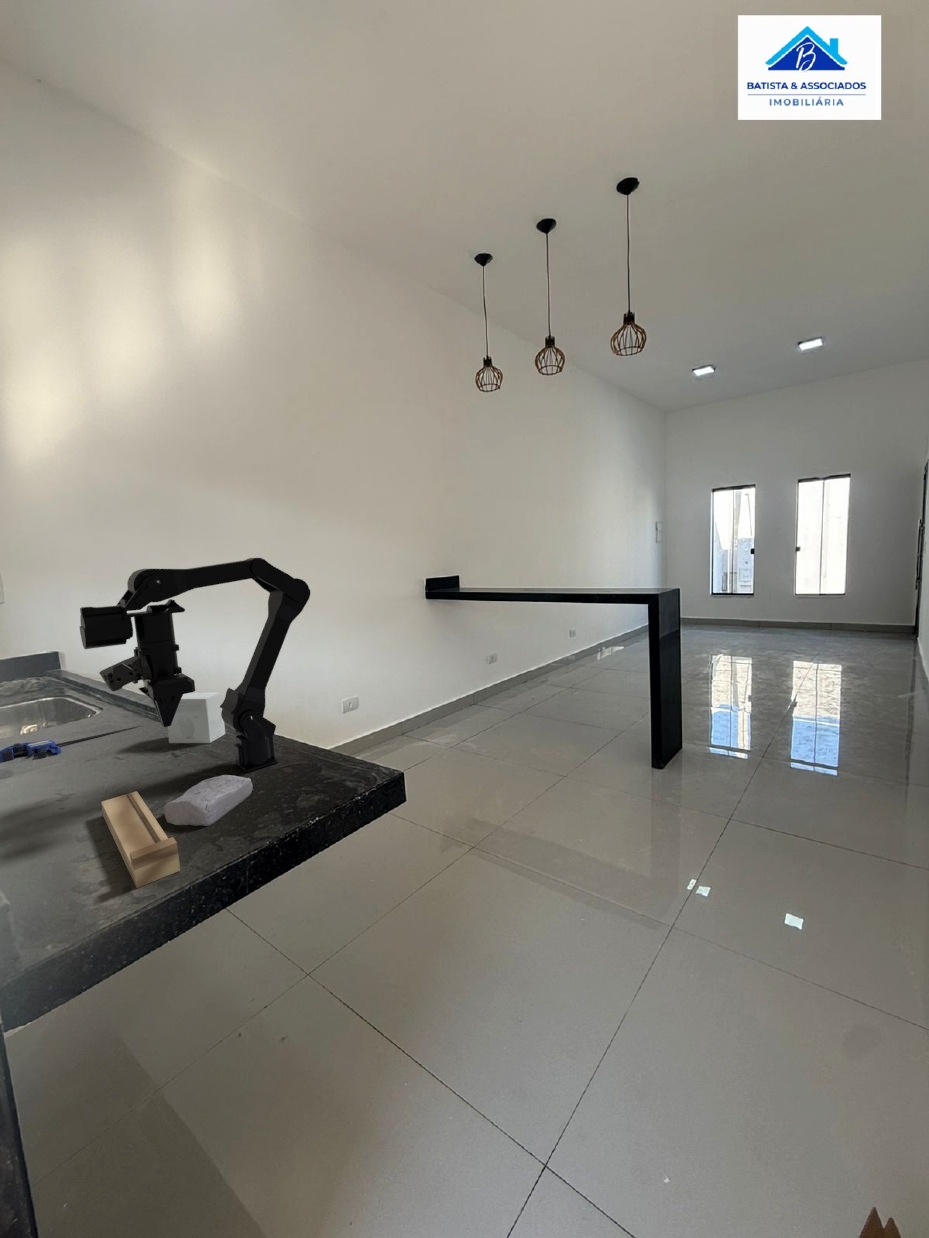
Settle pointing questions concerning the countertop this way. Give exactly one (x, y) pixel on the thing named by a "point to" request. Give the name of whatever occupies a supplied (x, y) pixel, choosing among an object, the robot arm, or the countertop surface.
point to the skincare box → (197, 719)
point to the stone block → (208, 800)
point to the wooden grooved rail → (140, 839)
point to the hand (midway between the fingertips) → (166, 725)
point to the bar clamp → (41, 747)
